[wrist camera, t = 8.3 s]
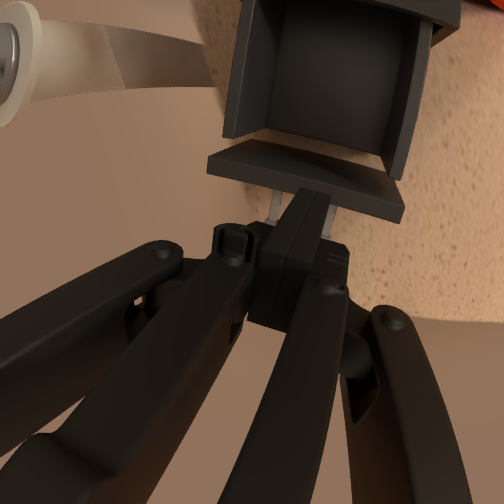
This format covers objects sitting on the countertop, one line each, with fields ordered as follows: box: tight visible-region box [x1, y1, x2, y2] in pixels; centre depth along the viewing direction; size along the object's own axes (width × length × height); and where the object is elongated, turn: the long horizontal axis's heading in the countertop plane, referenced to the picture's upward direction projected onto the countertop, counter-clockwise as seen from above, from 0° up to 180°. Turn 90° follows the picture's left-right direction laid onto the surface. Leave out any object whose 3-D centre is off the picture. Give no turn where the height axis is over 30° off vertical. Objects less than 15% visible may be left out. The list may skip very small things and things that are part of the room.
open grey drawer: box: [207, 0, 434, 241], centre depth 20 cm, size 22×12×9 cm, turn 172°
